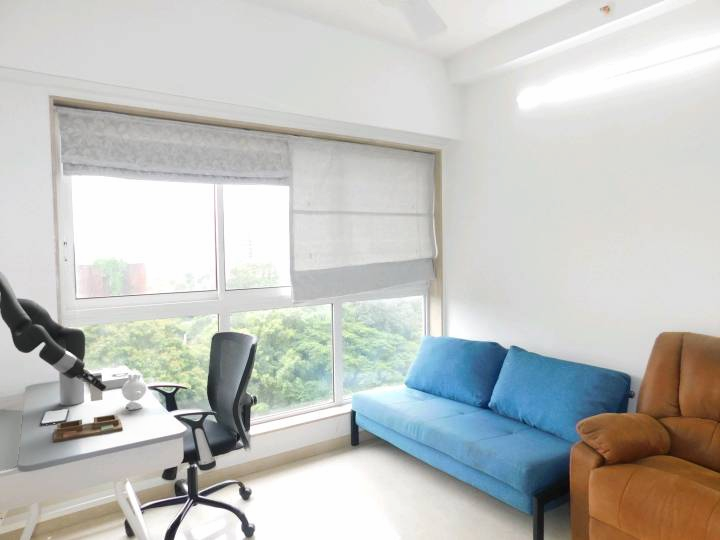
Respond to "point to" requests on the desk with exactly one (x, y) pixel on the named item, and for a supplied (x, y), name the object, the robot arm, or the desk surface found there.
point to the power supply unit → (113, 376)
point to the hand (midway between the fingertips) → (101, 387)
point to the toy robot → (134, 391)
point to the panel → (87, 428)
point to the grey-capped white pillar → (96, 389)
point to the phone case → (55, 416)
